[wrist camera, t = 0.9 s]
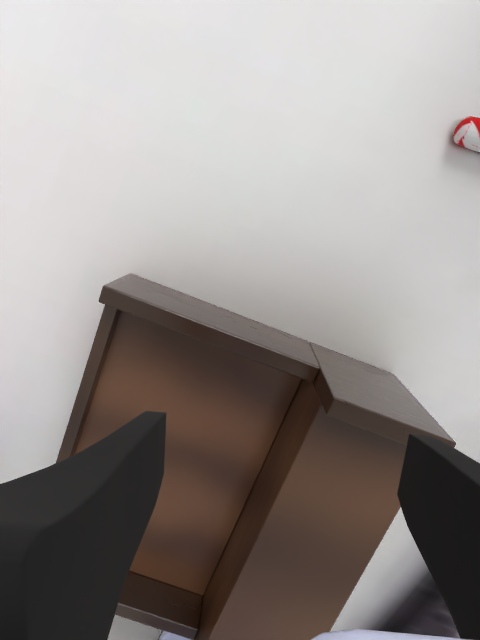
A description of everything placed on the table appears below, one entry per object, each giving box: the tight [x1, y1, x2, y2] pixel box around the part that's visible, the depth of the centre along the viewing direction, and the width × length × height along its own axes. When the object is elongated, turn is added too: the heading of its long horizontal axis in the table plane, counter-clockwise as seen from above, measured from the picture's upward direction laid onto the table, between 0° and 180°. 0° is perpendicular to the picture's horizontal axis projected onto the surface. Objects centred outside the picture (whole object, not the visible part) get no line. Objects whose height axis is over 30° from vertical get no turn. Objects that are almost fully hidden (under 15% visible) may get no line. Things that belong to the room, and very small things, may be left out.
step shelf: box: [56, 274, 456, 640], centre depth 20 cm, size 17×15×7 cm
